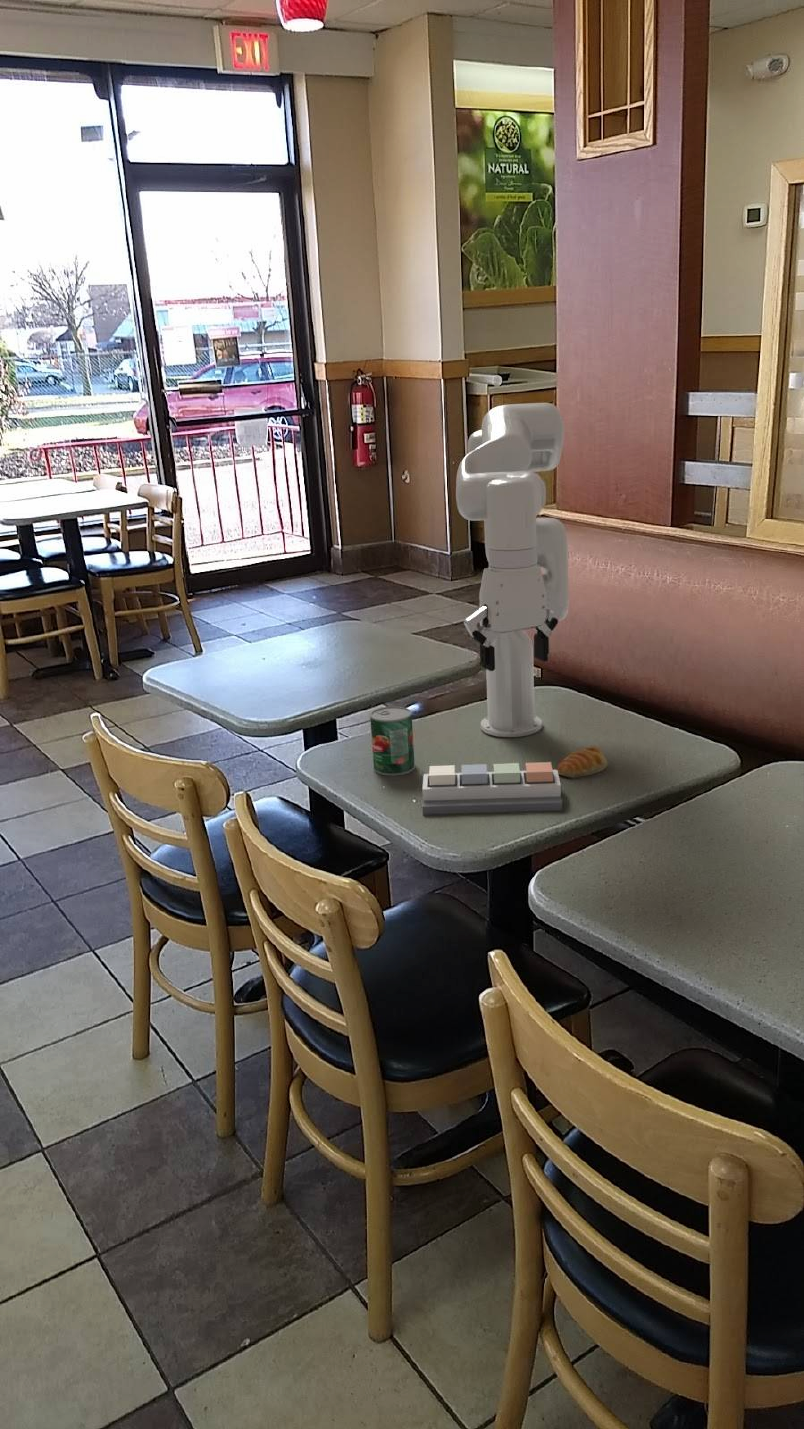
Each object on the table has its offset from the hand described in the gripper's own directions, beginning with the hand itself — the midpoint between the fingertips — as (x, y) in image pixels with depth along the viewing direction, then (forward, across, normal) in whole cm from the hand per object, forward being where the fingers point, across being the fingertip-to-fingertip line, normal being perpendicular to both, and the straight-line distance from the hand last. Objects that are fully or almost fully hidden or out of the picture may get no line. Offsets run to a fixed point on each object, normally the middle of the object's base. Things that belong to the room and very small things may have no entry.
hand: (515, 664), depth 177 cm
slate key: (+23, +3, -10) cm, 25 cm away
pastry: (+27, -20, -12) cm, 35 cm away
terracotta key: (+23, -7, -5) cm, 24 cm away
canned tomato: (+26, +9, -31) cm, 42 cm away
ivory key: (+23, +8, -13) cm, 27 cm away
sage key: (+23, -2, -8) cm, 24 cm away
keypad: (+26, 0, -9) cm, 28 cm away
